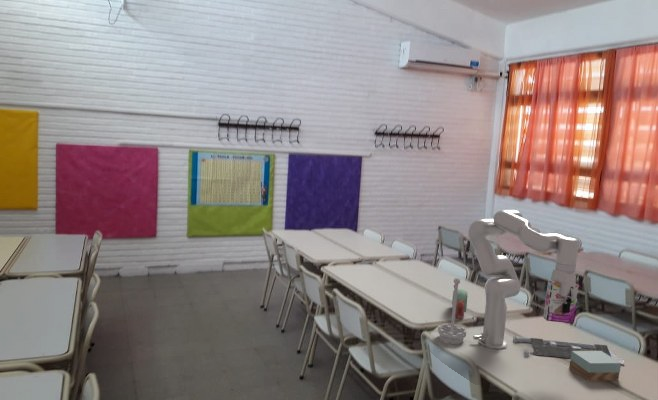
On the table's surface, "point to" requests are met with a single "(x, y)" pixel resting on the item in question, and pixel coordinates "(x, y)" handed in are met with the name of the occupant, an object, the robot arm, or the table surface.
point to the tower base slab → (593, 376)
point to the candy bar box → (558, 304)
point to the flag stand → (452, 324)
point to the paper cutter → (562, 348)
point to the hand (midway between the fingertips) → (559, 309)
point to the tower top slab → (595, 361)
